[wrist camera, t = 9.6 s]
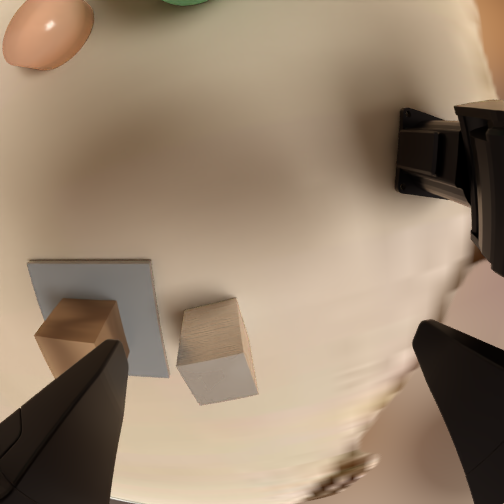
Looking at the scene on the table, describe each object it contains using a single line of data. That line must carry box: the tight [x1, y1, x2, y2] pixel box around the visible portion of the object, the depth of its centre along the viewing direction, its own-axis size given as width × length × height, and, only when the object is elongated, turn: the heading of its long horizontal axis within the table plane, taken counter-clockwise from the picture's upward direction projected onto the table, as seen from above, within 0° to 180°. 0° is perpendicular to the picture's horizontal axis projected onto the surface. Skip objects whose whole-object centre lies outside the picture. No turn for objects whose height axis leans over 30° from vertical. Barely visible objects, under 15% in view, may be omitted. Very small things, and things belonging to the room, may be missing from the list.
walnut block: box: [34, 298, 130, 379], centre depth 17 cm, size 5×5×5 cm
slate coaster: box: [27, 260, 170, 378], centre depth 20 cm, size 11×11×1 cm
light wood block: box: [176, 298, 259, 405], centre depth 18 cm, size 4×4×6 cm
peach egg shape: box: [3, 0, 94, 70], centre depth 9 cm, size 6×6×4 cm
